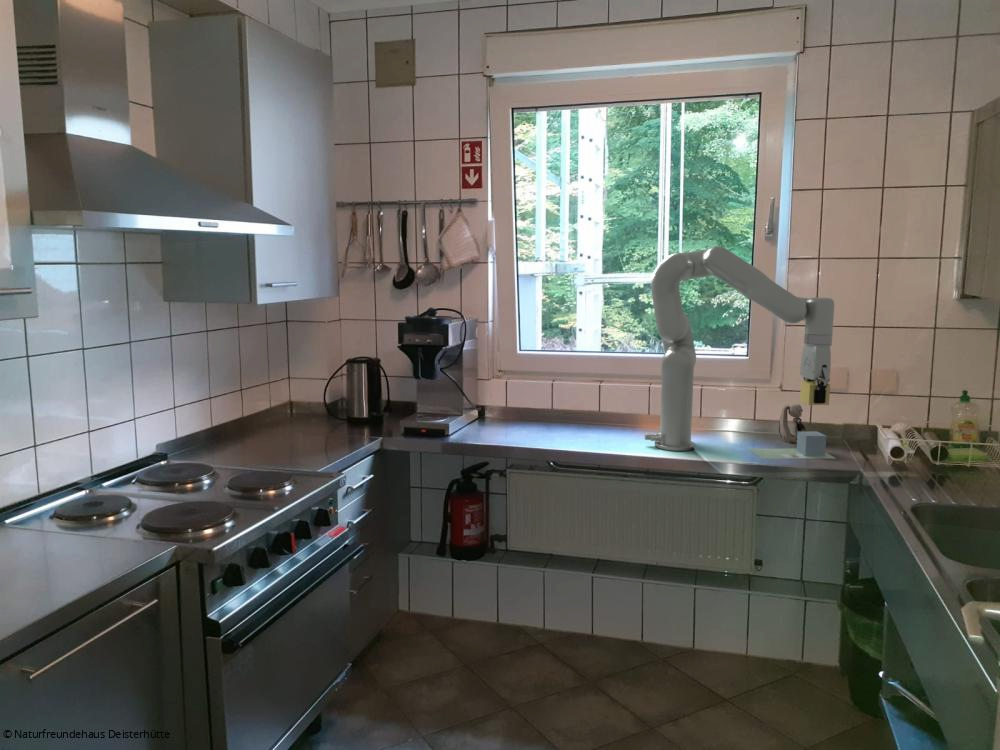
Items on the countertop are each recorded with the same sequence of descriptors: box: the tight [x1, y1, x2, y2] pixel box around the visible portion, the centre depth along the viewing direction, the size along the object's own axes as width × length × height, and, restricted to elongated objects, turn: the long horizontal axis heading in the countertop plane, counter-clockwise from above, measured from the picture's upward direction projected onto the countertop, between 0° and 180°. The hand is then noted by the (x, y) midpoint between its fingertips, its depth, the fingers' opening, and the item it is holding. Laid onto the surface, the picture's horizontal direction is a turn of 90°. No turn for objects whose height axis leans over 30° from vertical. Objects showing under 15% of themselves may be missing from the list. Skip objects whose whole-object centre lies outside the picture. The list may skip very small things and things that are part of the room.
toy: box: [778, 403, 808, 444], centre depth 247 cm, size 9×8×15 cm
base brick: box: [795, 430, 827, 456], centre depth 230 cm, size 6×6×6 cm
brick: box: [799, 380, 831, 406], centre depth 228 cm, size 6×6×6 cm
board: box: [747, 448, 837, 460], centre depth 230 cm, size 22×12×1 cm, turn 93°
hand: (814, 400), depth 228 cm, fingers closed on brick, 6 cm apart
